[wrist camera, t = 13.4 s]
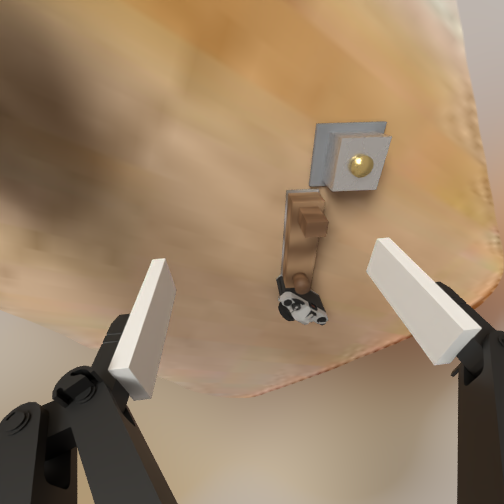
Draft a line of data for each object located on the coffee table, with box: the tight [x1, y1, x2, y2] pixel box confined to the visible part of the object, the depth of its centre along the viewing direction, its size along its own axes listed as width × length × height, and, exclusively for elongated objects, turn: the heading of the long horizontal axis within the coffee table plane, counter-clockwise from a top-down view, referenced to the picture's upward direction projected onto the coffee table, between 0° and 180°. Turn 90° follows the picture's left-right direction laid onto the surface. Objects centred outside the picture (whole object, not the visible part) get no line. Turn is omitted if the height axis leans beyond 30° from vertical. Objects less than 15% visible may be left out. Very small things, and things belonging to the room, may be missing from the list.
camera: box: [276, 275, 328, 325], centre depth 50 cm, size 13×8×9 cm, turn 54°
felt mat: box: [309, 121, 387, 186], centre depth 36 cm, size 10×9×1 cm
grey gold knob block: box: [322, 130, 392, 191], centre depth 33 cm, size 6×7×6 cm
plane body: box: [281, 189, 329, 294], centre depth 40 cm, size 19×5×10 cm, turn 1°
